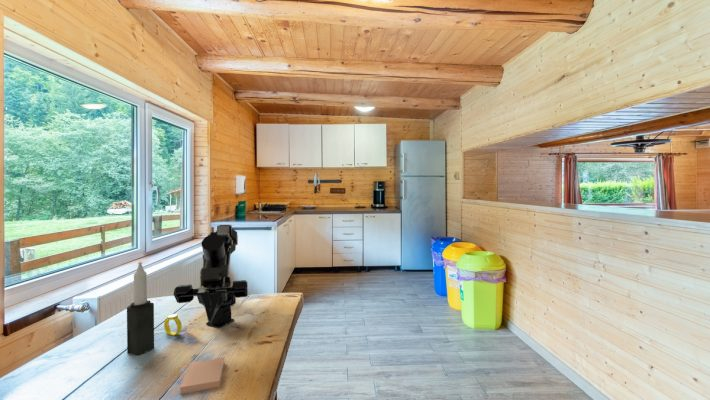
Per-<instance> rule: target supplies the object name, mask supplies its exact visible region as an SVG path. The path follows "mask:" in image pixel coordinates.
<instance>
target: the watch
mask: <svg viewBox="0 0 710 400" xmlns="http://www.w3.org/2000/svg"><path fill="white" fill-rule="evenodd" d="M178 316H179V315H178V314H177V313H173V314H169V315H167V317H166V318H165V320H164V322H163V327H164V330H165V333H166V334H167V335H169V336H173V337H175V336H177V335H179V334H180V333H181V332H182V329H183V326H182V321H181V319H180V318H179V317H178ZM170 320H173V321H174V322H175V325H176V332H175V331H172V330H171V328H170Z"/></svg>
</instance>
